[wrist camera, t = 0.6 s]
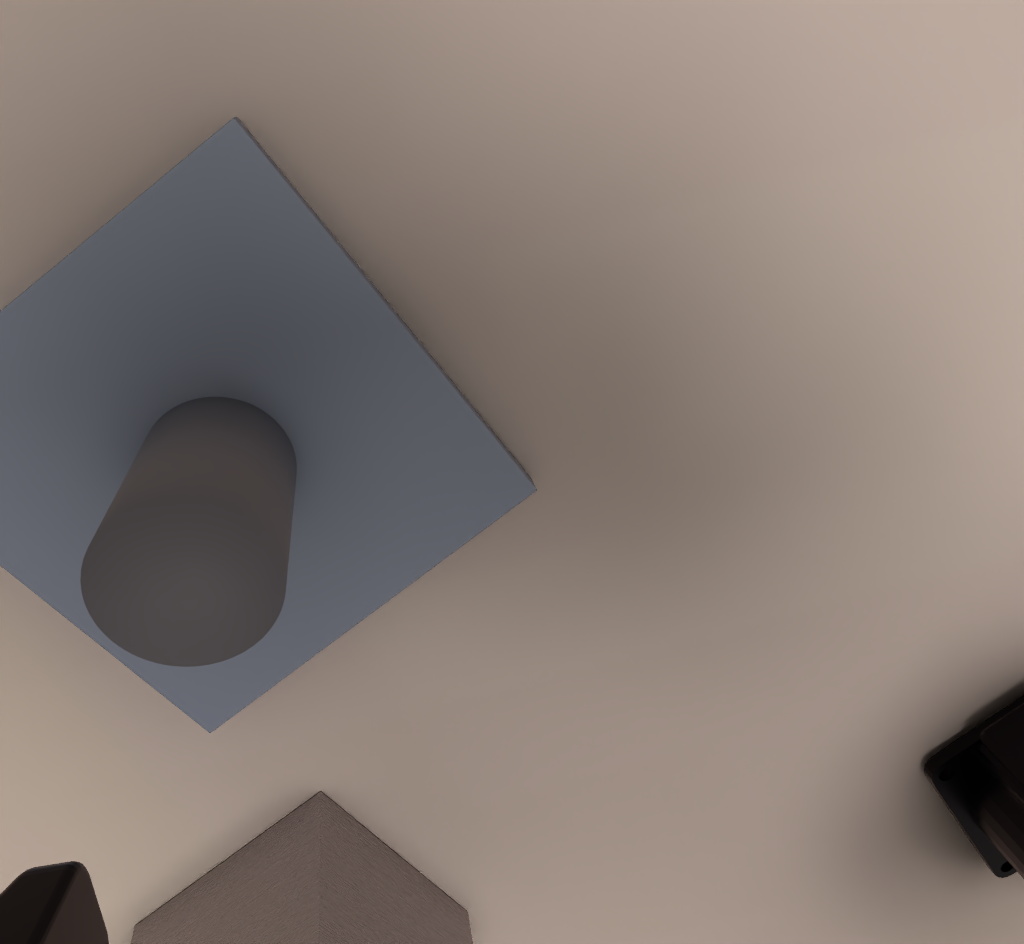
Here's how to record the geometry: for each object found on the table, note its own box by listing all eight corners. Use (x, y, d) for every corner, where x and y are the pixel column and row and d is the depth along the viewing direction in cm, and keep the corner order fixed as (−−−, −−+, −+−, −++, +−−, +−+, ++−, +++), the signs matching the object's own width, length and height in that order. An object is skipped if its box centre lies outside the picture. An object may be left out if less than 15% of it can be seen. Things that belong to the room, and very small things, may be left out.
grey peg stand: (531, 479, 21) (594, 602, 16) (212, 717, 22) (177, 903, 17) (236, 117, 17) (196, 129, 12) (-141, 429, 18) (-326, 563, 13)
